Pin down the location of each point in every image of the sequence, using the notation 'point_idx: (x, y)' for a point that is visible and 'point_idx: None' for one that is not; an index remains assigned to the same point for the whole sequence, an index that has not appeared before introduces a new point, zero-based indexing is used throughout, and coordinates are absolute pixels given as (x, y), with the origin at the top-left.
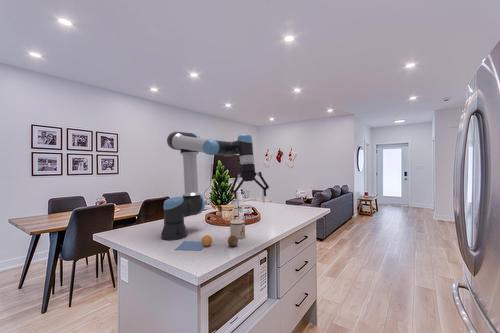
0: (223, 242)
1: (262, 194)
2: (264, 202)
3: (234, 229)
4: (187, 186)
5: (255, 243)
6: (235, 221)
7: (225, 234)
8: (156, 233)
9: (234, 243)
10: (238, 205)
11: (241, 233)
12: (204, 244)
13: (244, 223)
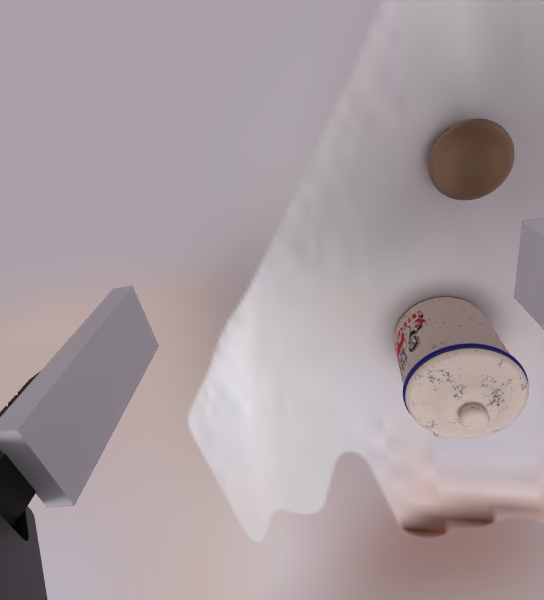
0: None
1: (92, 405)
2: (115, 291)
3: (474, 327)
4: None
5: (315, 223)
6: (483, 375)
7: None
8: None
9: (452, 126)
10: (528, 220)
11: (417, 321)
12: None
13: (405, 384)
